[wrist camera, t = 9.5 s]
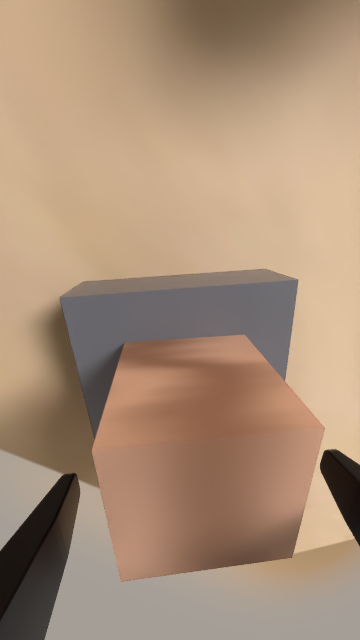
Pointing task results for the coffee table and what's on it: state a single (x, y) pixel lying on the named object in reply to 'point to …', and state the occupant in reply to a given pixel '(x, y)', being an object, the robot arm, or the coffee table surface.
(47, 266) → the coffee table surface
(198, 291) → the charcoal box
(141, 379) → the terracotta cube
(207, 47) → the coffee table surface
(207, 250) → the coffee table surface
